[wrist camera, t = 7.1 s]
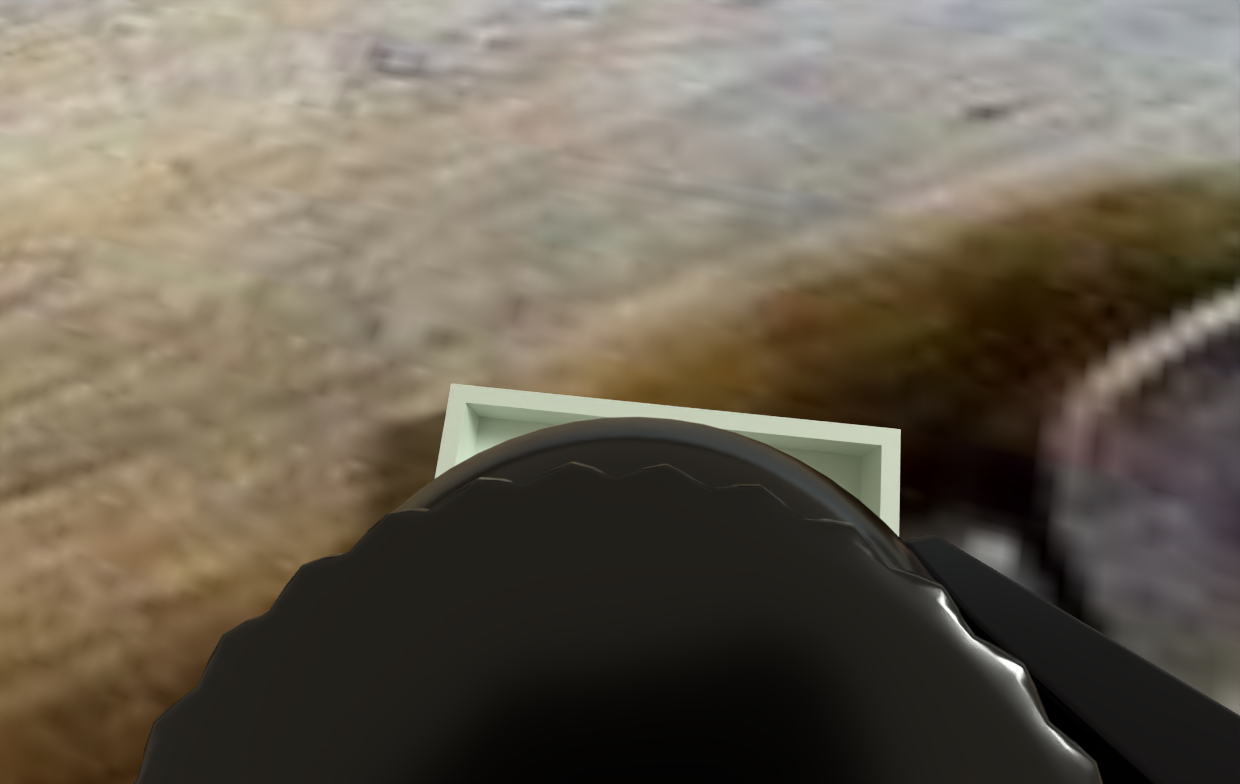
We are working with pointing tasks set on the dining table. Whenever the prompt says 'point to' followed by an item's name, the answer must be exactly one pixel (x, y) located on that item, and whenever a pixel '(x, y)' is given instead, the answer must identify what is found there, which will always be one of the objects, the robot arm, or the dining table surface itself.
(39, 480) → the dining table surface
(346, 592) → the supplement bottle
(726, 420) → the tray
